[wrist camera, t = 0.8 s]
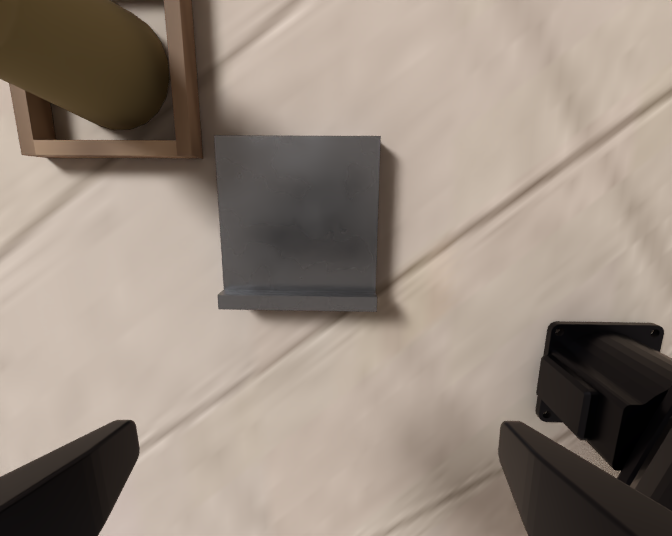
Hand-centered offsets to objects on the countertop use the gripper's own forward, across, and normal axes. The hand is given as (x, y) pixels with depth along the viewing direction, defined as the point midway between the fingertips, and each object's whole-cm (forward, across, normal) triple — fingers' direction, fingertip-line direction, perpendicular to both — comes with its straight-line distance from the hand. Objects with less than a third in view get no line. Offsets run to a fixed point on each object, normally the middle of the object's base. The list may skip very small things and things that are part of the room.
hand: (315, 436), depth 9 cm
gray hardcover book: (+13, +2, -4) cm, 14 cm away
